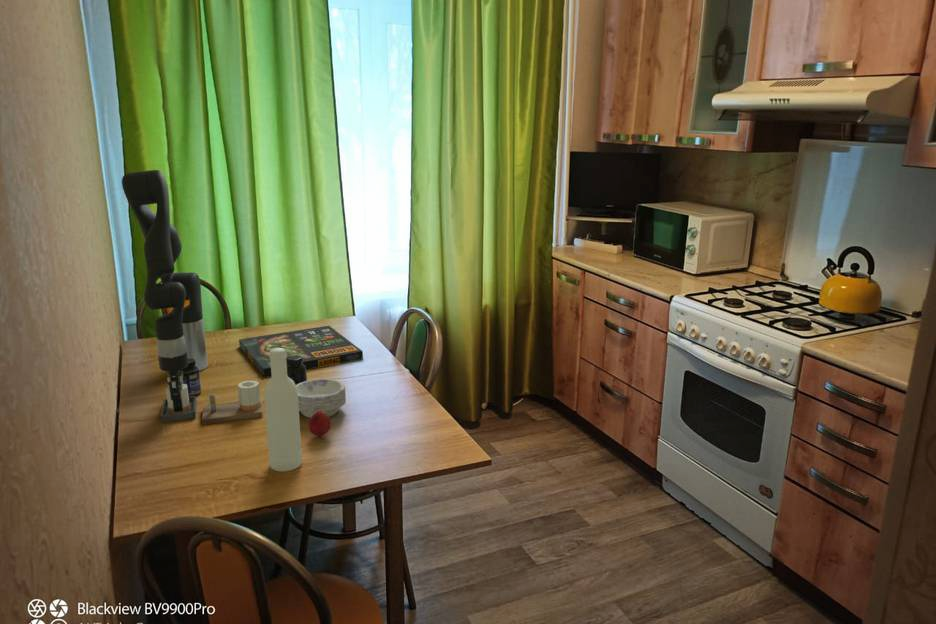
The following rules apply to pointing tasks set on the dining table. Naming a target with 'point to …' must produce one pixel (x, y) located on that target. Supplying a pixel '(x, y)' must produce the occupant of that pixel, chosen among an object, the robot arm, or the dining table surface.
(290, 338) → the pizza box
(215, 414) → the pin board
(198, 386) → the pill bottle
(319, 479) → the dining table surface
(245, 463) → the dining table surface
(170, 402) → the sleeve
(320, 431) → the onion
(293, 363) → the supplement bottle
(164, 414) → the feeder tray
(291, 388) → the bottle
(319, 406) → the paper bowls
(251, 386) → the seated sleeve
